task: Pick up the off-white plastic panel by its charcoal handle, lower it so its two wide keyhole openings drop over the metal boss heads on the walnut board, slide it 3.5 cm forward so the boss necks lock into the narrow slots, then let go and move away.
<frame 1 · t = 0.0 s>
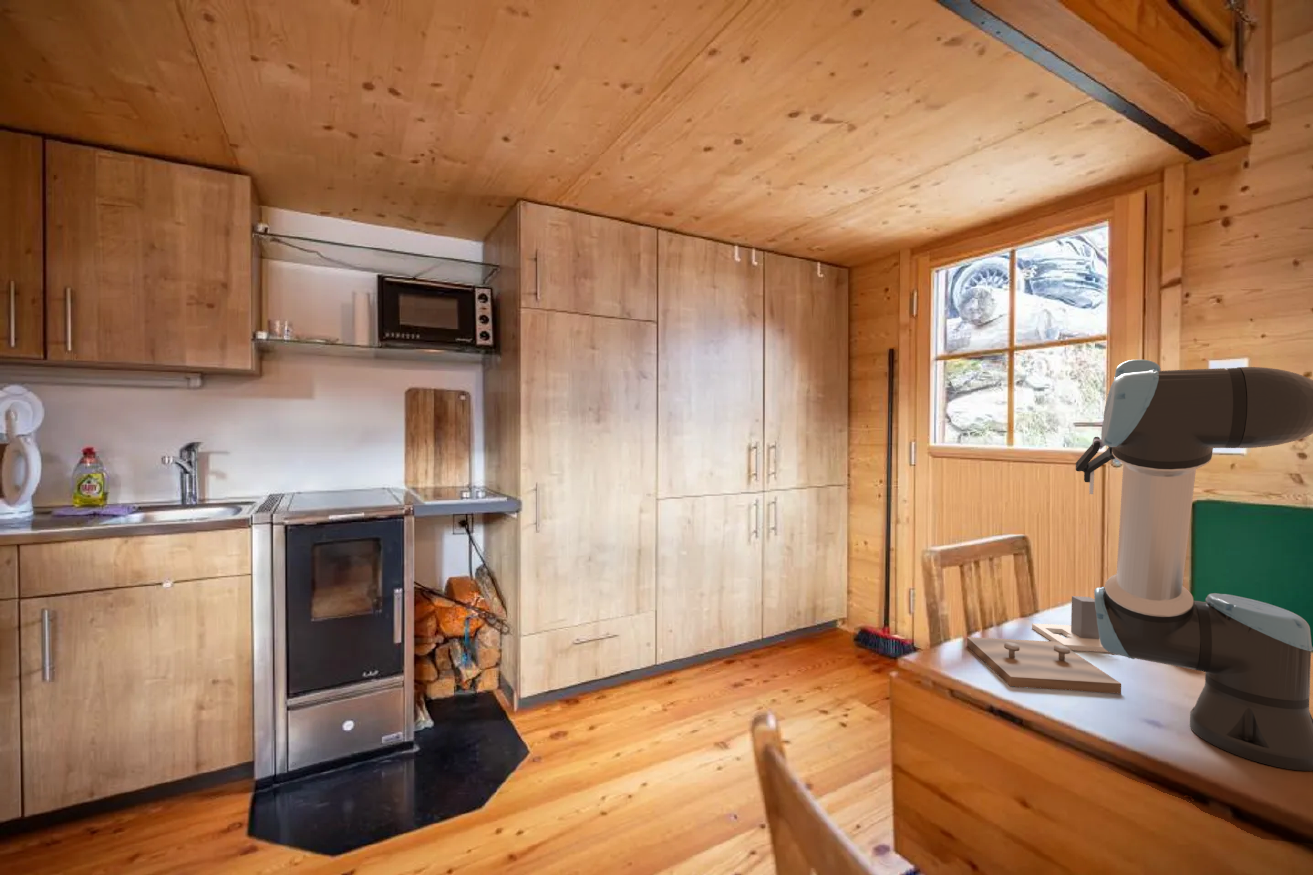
hand: (1126, 492, 136), 36 cm above the table, tool tilted 35°, fingers open, 13 cm apart
sculpture: (1134, 628, 143), on the table
panel: (1084, 640, 134), on the table
board: (1036, 667, 119), on the table
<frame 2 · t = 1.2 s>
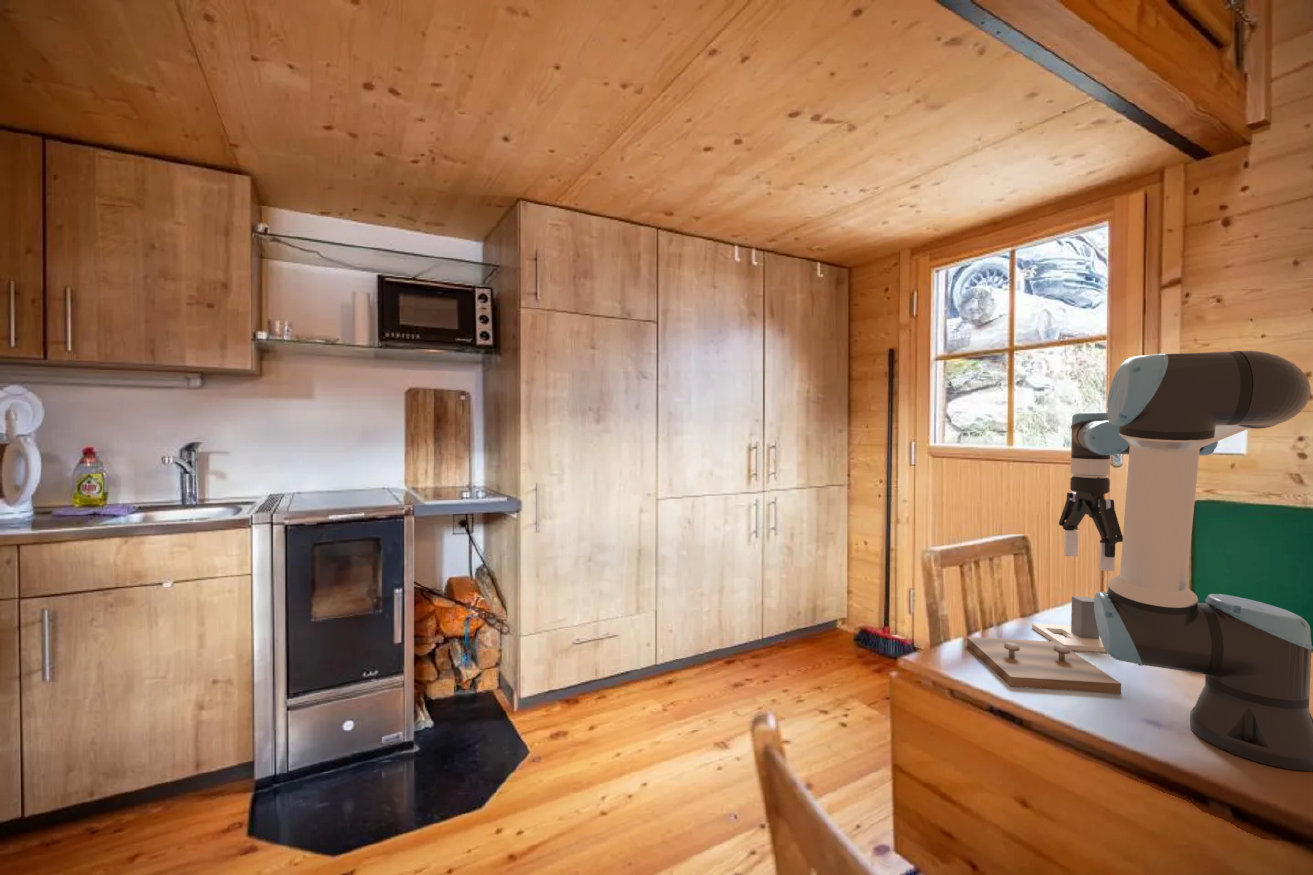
hand: (1087, 562, 134), 19 cm above the table, tool pointing down, fingers open, 13 cm apart
nothing on the table moved.
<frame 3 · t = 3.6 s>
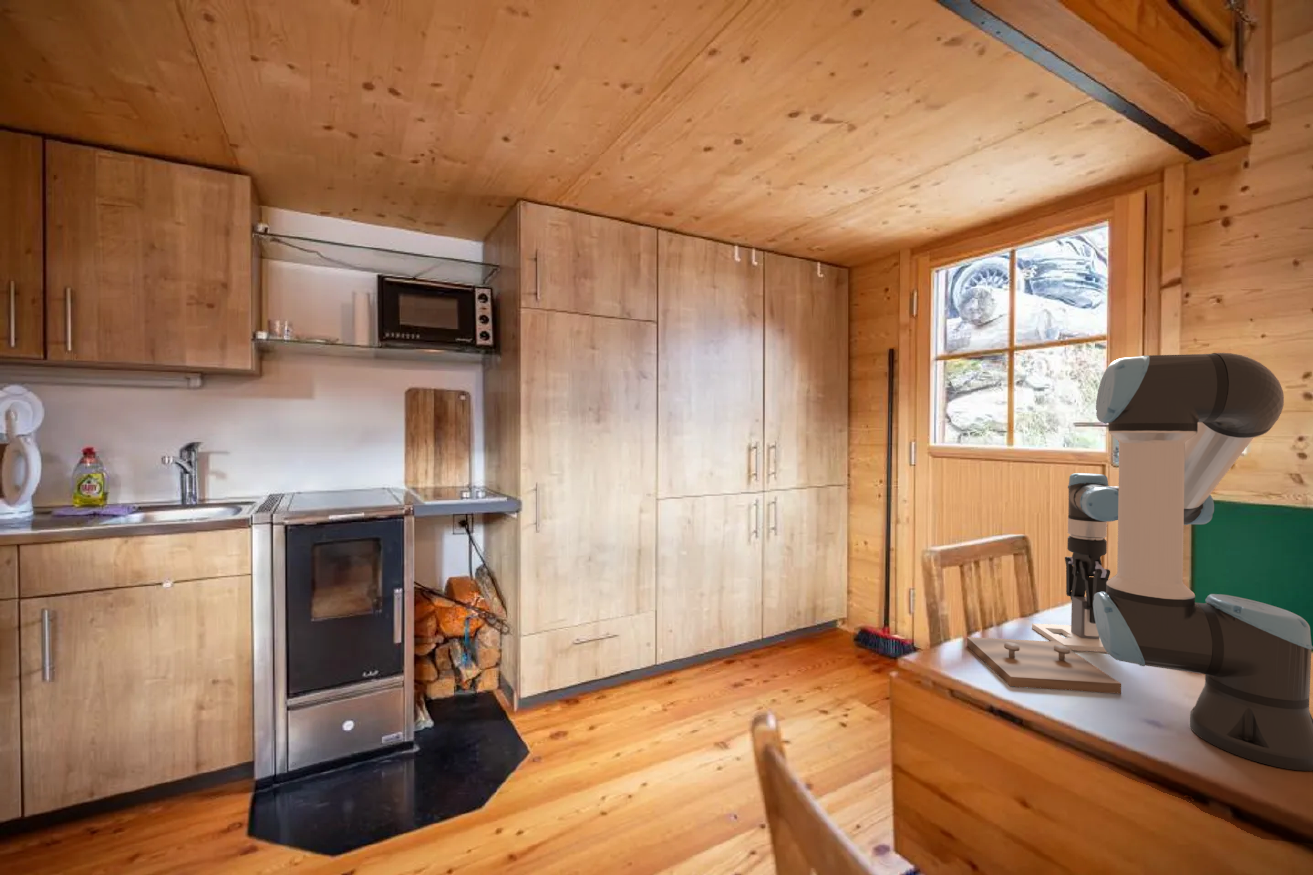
hand: (1085, 631, 134), 2 cm above the table, tool pointing down, fingers closed on panel, 4 cm apart
panel: (1084, 640, 134), on the table, touching gripper
everything else where it was.
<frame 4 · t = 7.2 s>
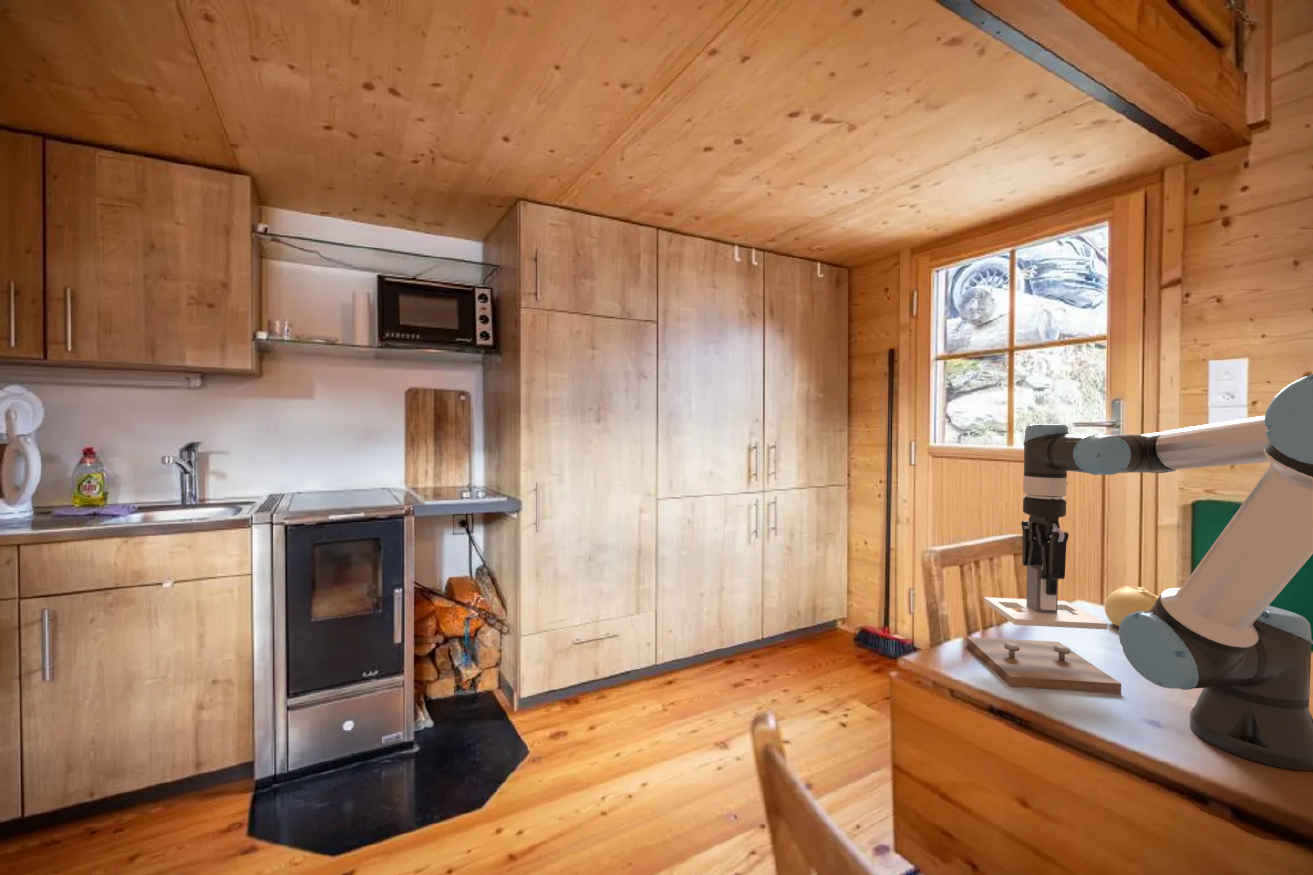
hand: (1041, 605, 117), 14 cm above the table, tool pointing down, fingers closed on panel, 4 cm apart
panel: (1041, 614, 117), point 12 cm above the table, touching gripper
everything else where it was.
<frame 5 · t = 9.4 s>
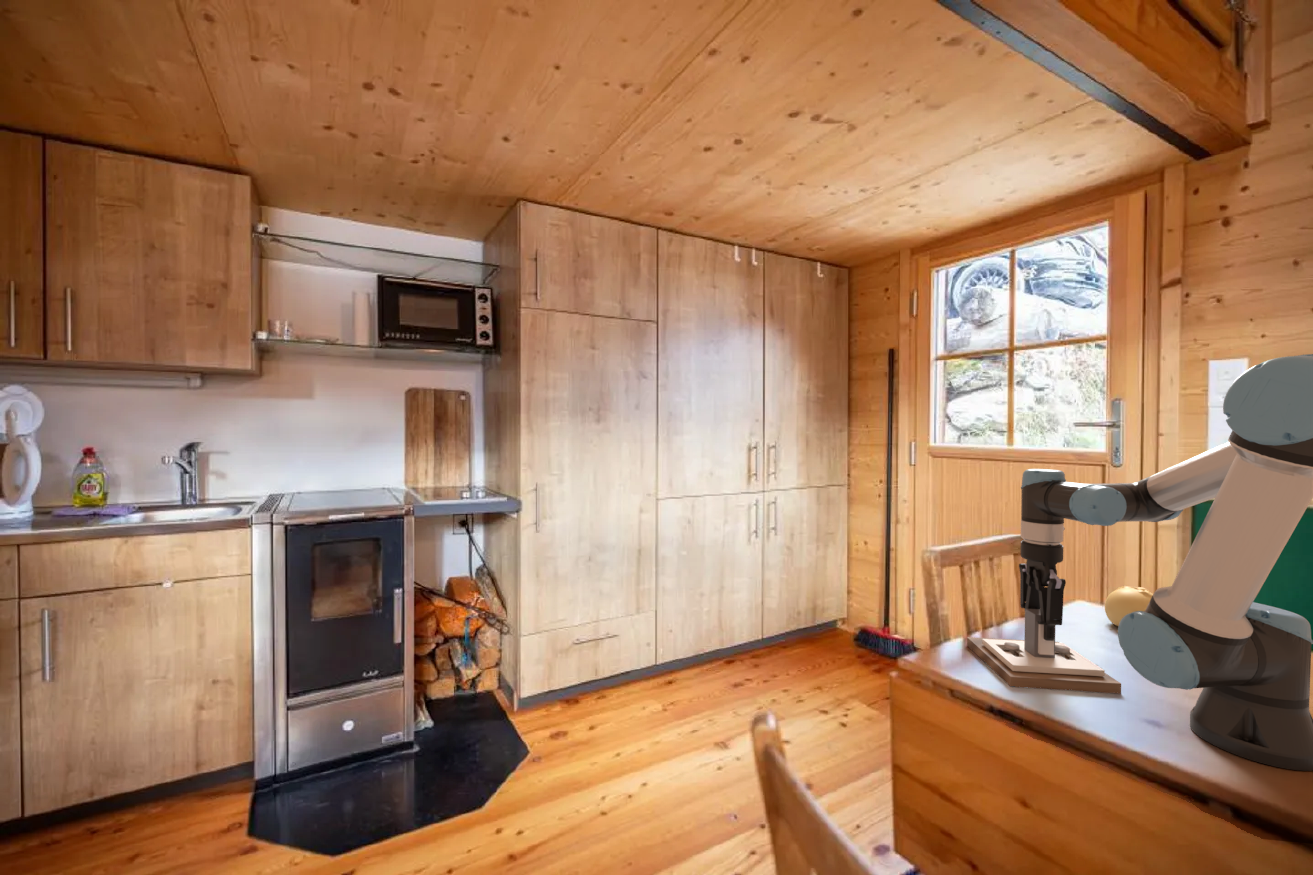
hand: (1039, 649, 118), 4 cm above the table, tool pointing down, fingers closed on panel, 4 cm apart
panel: (1039, 658, 118), point 2 cm above the table, touching gripper
everything else where it was.
when the fingers open (4 cm above the table, at t = 11.1 s): panel stays where it is, resting on board.
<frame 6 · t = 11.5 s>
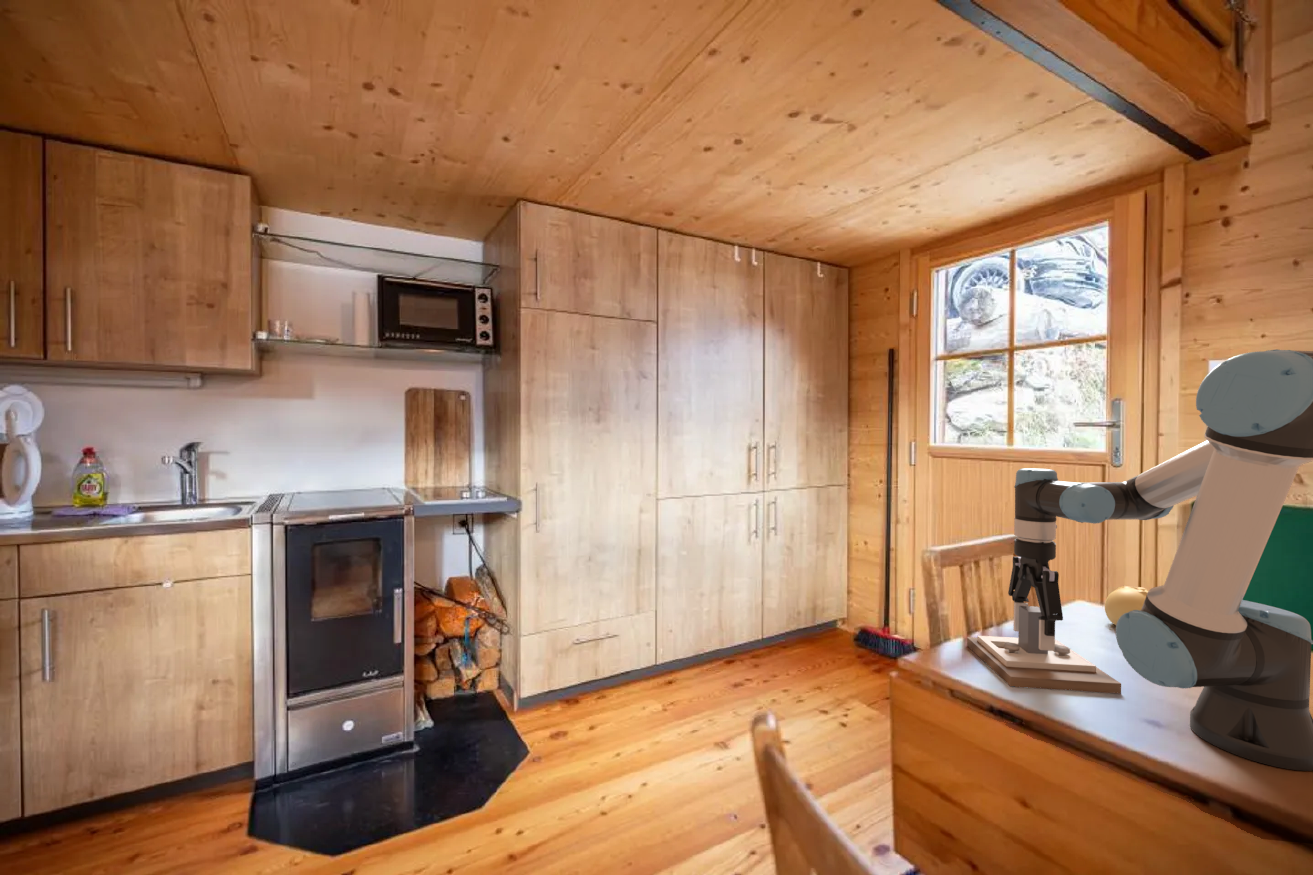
hand: (1033, 639, 121), 5 cm above the table, tool pointing down, fingers open, 10 cm apart
panel: (1032, 655, 121), point 2 cm above the table, touching board
everything else where it was.
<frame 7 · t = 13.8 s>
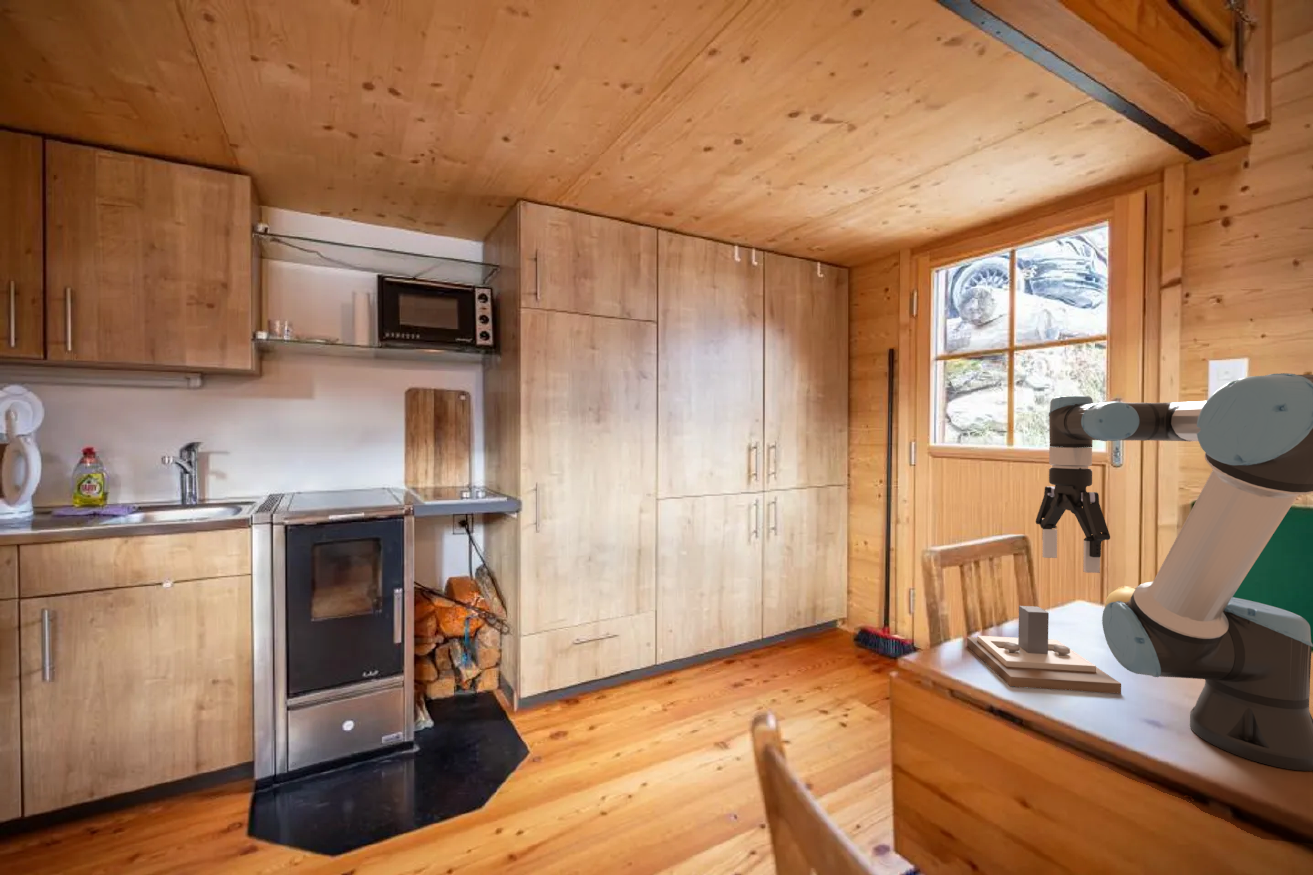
hand: (1069, 564, 120), 22 cm above the table, tool pointing down, fingers open, 13 cm apart
nothing on the table moved.
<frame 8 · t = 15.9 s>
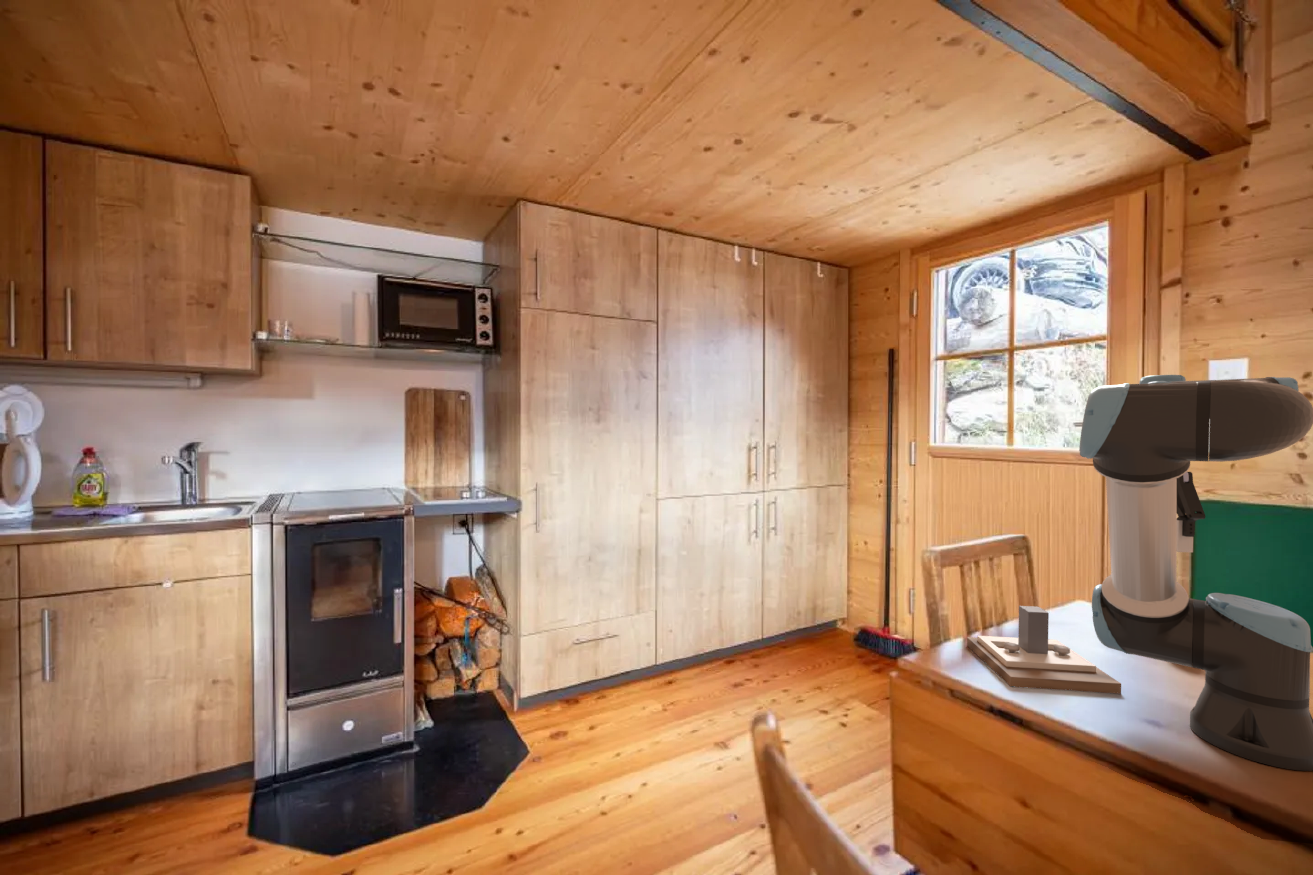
hand: (1158, 544, 119), 27 cm above the table, tool pointing down, fingers open, 13 cm apart
nothing on the table moved.
at the end: panel 0.2 cm from the target spot on the board, point 2.0 cm above the board's base; panel tilted 0°; the gripper is holding nothing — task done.
